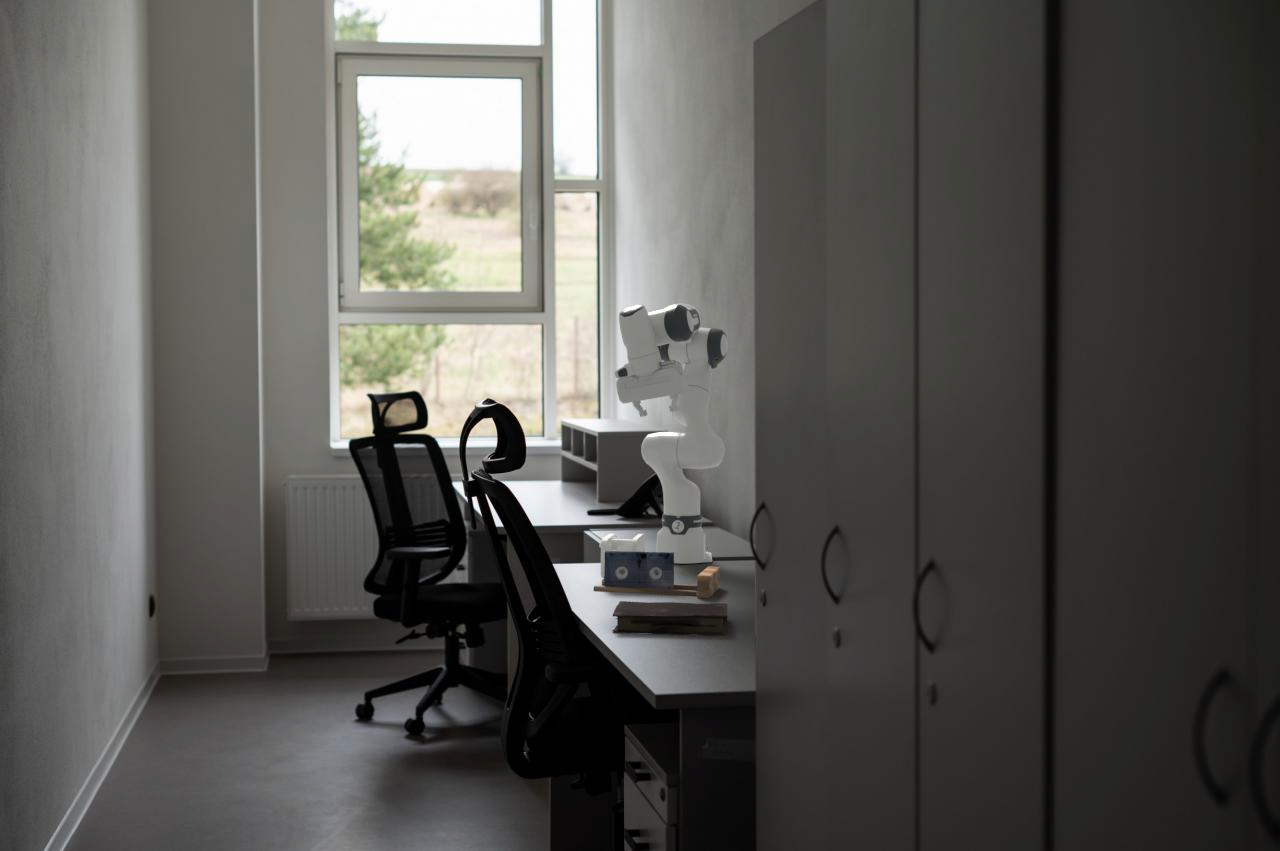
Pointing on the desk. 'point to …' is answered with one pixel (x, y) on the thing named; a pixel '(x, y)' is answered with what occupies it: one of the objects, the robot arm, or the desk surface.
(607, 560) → the vhs cassette tape
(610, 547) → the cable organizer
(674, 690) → the desk surface
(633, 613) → the diary
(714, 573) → the guide track
